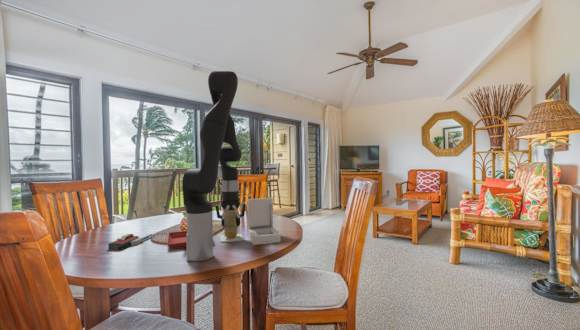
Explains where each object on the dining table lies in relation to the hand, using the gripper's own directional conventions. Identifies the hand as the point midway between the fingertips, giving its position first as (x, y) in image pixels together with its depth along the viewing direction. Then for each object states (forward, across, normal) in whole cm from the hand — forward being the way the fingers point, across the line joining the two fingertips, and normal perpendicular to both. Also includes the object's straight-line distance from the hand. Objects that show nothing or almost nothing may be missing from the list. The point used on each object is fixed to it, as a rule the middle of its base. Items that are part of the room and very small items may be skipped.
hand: (231, 226), depth 126 cm
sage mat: (+6, 0, 0) cm, 6 cm away
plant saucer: (+6, -18, +1) cm, 19 cm away
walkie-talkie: (+6, -43, +8) cm, 44 cm away
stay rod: (+2, +19, 0) cm, 19 cm away
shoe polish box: (+4, 0, 0) cm, 4 cm away
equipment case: (+6, +14, -6) cm, 16 cm away
